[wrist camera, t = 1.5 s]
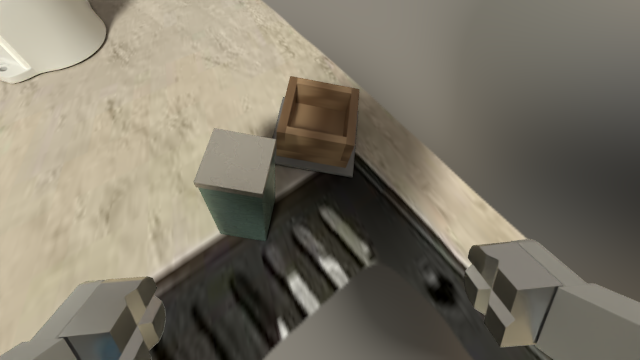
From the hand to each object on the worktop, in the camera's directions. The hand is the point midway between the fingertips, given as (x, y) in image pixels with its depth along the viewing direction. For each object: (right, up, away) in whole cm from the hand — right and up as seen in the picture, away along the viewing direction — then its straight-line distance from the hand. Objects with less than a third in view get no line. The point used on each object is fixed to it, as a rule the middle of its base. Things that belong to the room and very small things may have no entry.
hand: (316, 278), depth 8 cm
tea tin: (-8, -2, +27) cm, 28 cm away
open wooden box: (0, +9, +33) cm, 34 cm away
